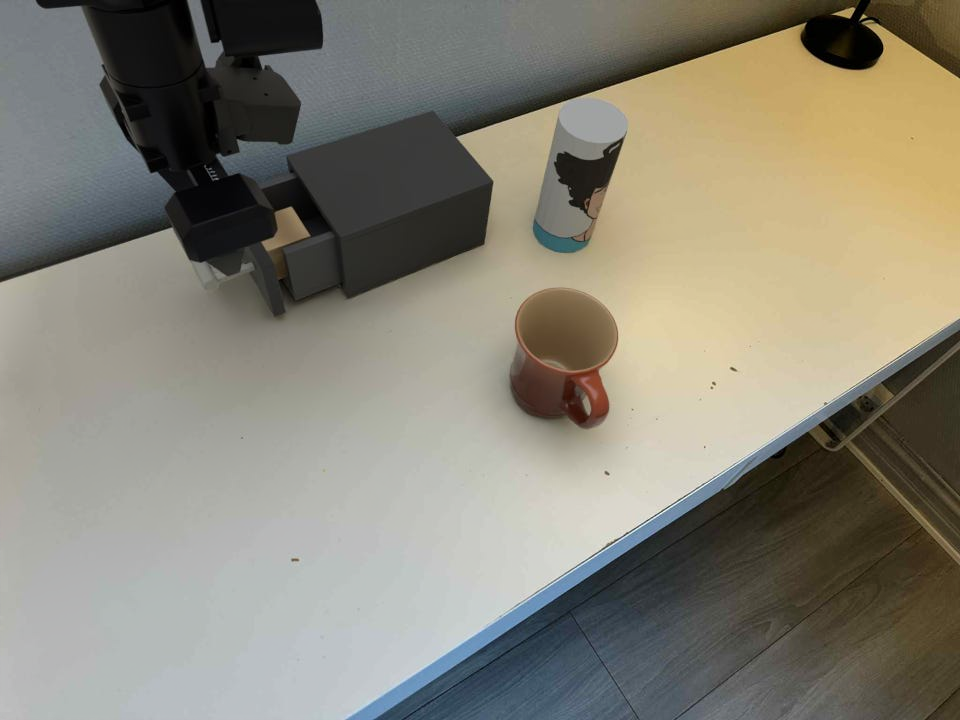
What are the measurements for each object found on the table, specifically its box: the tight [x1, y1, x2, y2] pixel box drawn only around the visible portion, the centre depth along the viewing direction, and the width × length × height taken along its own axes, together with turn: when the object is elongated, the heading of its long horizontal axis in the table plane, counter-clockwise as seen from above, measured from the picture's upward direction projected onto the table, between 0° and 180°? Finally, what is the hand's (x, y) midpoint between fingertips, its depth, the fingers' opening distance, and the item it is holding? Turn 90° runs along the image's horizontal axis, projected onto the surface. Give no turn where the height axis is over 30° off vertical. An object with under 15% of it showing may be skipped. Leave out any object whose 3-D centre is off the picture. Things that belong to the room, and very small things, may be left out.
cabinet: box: [285, 110, 495, 300], centre depth 69 cm, size 17×12×9 cm
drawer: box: [188, 173, 343, 317], centre depth 65 cm, size 20×11×7 cm, turn 122°
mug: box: [509, 287, 619, 430], centre depth 59 cm, size 12×9×10 cm
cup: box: [532, 96, 629, 254], centre depth 69 cm, size 7×7×15 cm
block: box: [262, 207, 311, 281], centre depth 65 cm, size 4×4×4 cm
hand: (211, 234), depth 54 cm, fingers open, 9 cm apart
